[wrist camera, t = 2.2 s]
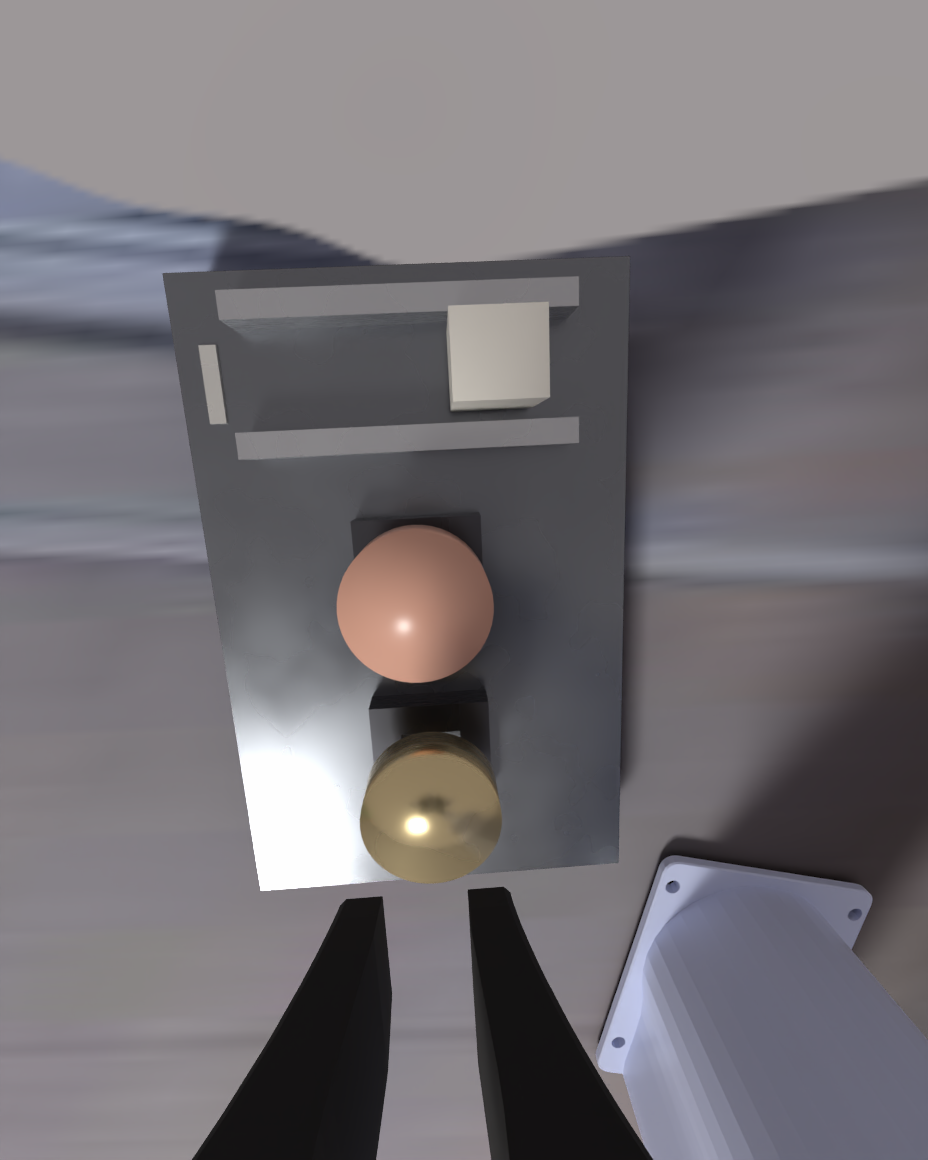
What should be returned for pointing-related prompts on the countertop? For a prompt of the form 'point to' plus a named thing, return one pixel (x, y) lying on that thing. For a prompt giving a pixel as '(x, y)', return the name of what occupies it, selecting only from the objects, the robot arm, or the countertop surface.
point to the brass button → (431, 808)
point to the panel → (399, 498)
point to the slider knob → (498, 356)
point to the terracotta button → (415, 604)
